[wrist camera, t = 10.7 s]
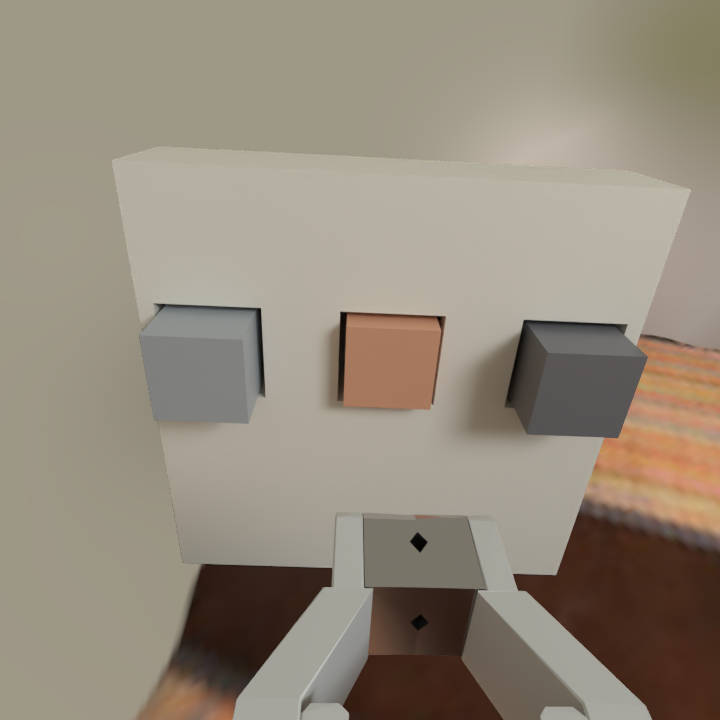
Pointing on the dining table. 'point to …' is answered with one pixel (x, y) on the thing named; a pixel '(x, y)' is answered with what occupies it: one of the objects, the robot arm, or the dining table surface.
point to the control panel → (389, 296)
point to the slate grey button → (203, 363)
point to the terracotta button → (390, 360)
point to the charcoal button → (574, 378)
